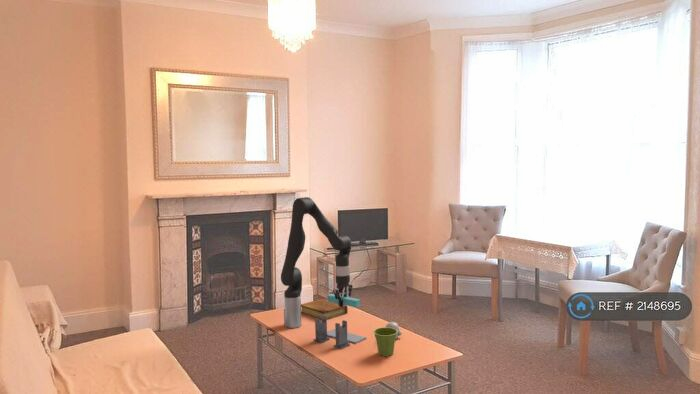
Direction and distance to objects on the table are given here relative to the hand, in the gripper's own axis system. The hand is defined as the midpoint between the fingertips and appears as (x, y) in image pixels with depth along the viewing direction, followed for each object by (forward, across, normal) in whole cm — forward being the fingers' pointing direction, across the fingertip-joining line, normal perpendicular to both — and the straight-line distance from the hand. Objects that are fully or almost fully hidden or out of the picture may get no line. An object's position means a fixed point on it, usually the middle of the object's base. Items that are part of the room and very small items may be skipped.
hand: (343, 305), depth 291 cm
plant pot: (+17, +6, +32) cm, 37 cm away
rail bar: (-1, 0, 0) cm, 1 cm away
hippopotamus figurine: (+17, -12, +22) cm, 30 cm away
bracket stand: (+17, +12, +1) cm, 21 cm away
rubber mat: (+17, 0, 0) cm, 17 cm away
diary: (+18, -26, -38) cm, 49 cm away
